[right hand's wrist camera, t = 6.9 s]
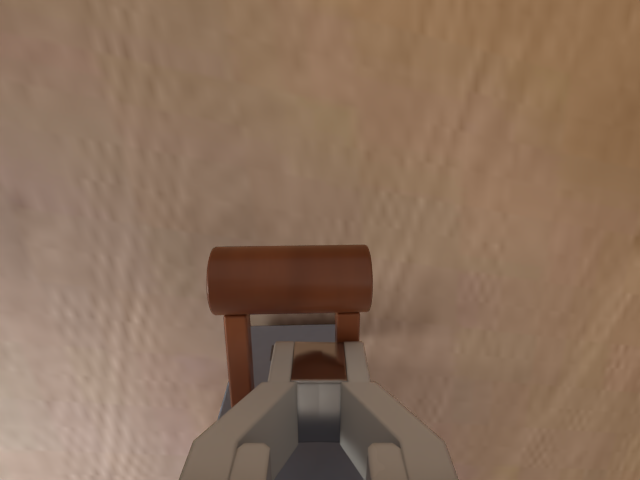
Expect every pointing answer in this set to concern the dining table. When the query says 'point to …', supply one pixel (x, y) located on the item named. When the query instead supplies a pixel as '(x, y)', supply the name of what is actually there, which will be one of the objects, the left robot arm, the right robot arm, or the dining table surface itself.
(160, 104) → the dining table surface
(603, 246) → the dining table surface
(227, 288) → the drawer
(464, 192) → the dining table surface
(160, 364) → the dining table surface
